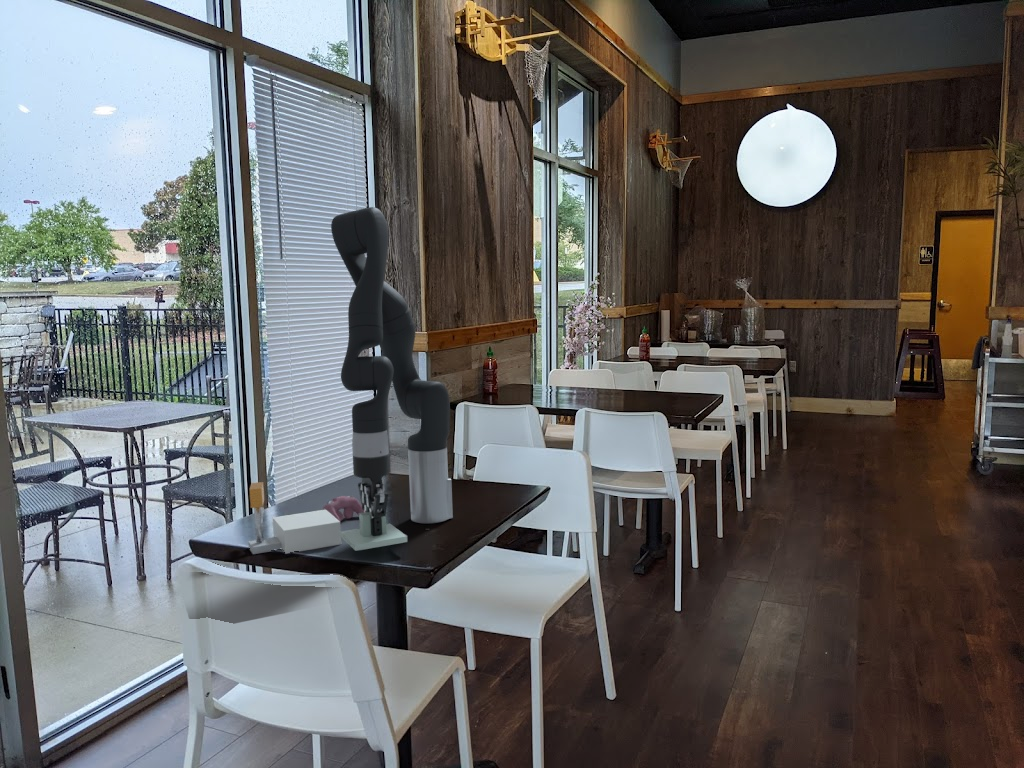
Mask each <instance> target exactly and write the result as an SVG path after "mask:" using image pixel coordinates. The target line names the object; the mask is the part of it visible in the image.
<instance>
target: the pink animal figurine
mask: <svg viewBox="0 0 1024 768" xmlns="http://www.w3.org/2000/svg"><path fill="white" fill-rule="evenodd" d="M322 508H323V509H322V510H327V511H328V512H329V513H331V514H332V515H333V516H334V517H335V518H336V519H338V520H339V521H340V522H341V521H343V520H344V518H345V519H347V520H350V519H352V518H353V517H354V513H355V514H357V515H358V516H359V513H364V510H363V509H362V505H361V501H360V500H358V498H356V497H354V496H353V495H340V496H338V497H334V498H333V499H331V500H329V501H328V502H326V503H325V504H324V505H323V507H322ZM340 510H343V513H342V511H340Z"/></svg>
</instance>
